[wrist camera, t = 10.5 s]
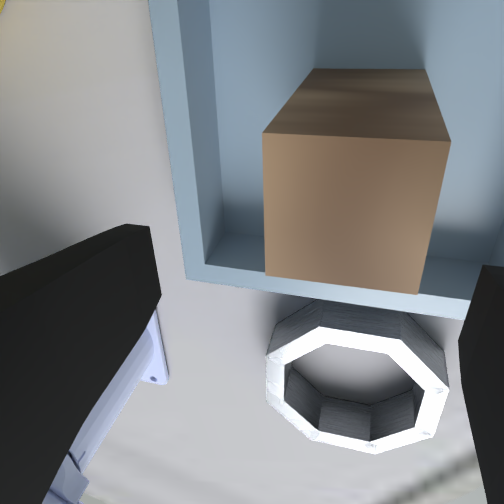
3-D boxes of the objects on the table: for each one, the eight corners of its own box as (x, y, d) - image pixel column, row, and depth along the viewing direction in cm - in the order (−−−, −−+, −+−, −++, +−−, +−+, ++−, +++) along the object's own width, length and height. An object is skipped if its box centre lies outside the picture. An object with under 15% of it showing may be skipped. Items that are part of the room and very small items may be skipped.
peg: (309, 168, 18) (265, 275, 12) (313, 68, 16) (261, 132, 10) (407, 174, 17) (417, 295, 11) (425, 69, 15) (451, 142, 9)
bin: (211, 240, 23) (186, 279, 20) (180, -102, 15) (131, -119, 12) (504, 276, 19) (523, 329, 16) (656, -139, 12) (741, -174, 9)
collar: (275, 396, 28) (266, 429, 26) (275, 287, 23) (264, 317, 21) (421, 426, 26) (424, 465, 24) (456, 313, 21) (463, 349, 19)
